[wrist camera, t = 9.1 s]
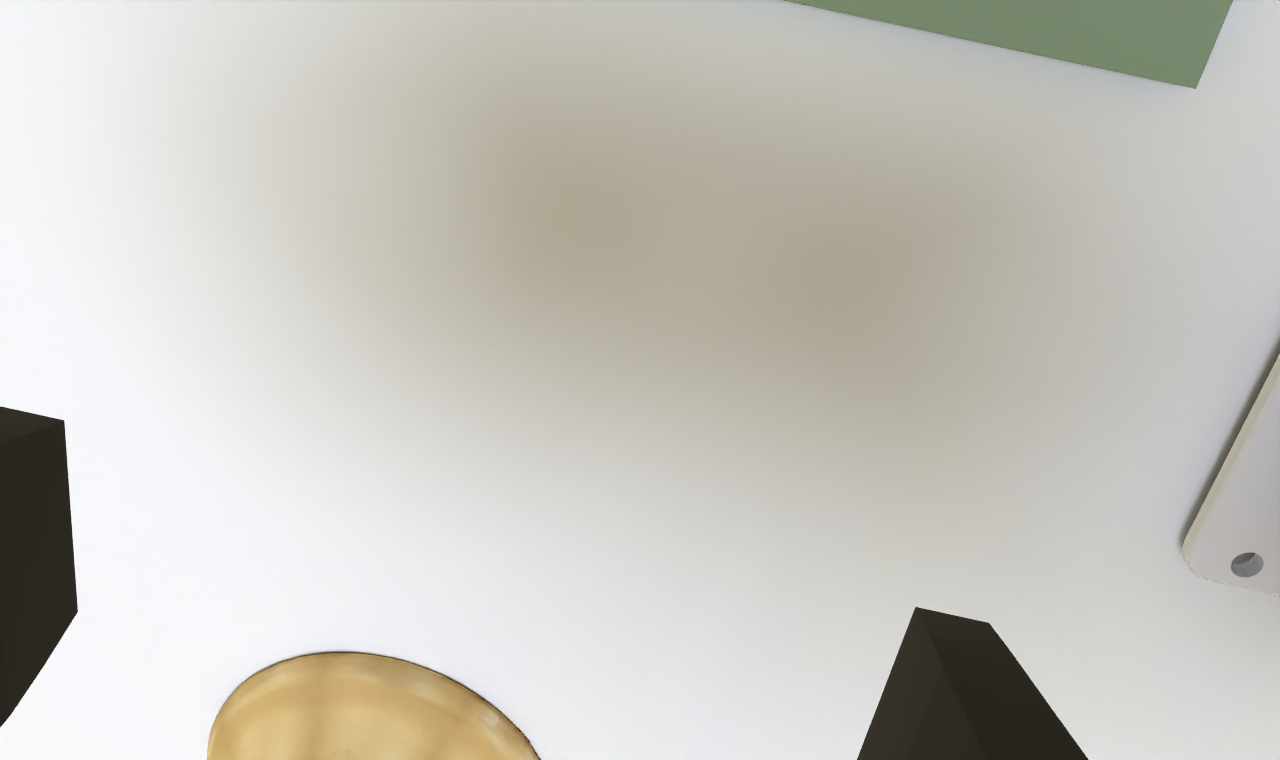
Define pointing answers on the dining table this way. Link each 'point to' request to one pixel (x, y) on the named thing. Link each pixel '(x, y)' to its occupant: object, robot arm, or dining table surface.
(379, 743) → the hand bell
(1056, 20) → the pitch mat
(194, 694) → the dining table surface
